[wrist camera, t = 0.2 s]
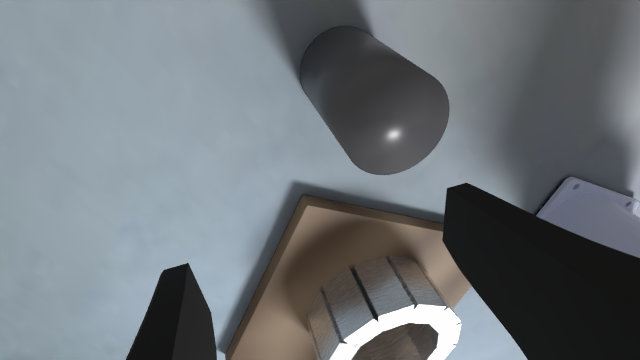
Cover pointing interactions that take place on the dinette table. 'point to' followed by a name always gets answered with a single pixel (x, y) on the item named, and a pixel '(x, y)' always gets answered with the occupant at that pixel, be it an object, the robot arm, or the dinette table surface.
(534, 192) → the dinette table surface
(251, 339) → the walnut board
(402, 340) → the white faceted ring
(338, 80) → the dark rounded capsule
